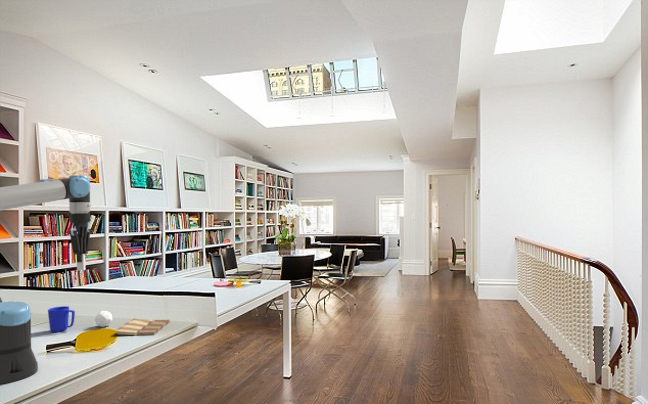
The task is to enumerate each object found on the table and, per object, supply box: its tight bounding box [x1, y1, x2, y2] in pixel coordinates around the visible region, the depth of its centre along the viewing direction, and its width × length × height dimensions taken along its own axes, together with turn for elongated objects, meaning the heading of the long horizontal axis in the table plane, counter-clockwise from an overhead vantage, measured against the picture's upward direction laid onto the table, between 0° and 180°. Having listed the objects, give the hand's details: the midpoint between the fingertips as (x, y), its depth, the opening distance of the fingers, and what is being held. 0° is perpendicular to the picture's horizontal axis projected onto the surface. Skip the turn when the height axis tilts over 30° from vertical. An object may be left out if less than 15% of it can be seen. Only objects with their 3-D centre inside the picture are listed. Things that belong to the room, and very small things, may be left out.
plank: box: [114, 318, 154, 336], centre depth 193 cm, size 20×9×1 cm, turn 1°
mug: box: [47, 305, 76, 333], centre depth 194 cm, size 8×12×10 cm
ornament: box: [94, 310, 113, 328], centre depth 199 cm, size 7×7×8 cm
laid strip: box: [136, 319, 171, 336], centre depth 193 cm, size 20×8×1 cm, turn 1°
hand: (81, 269), depth 177 cm, fingers closed
